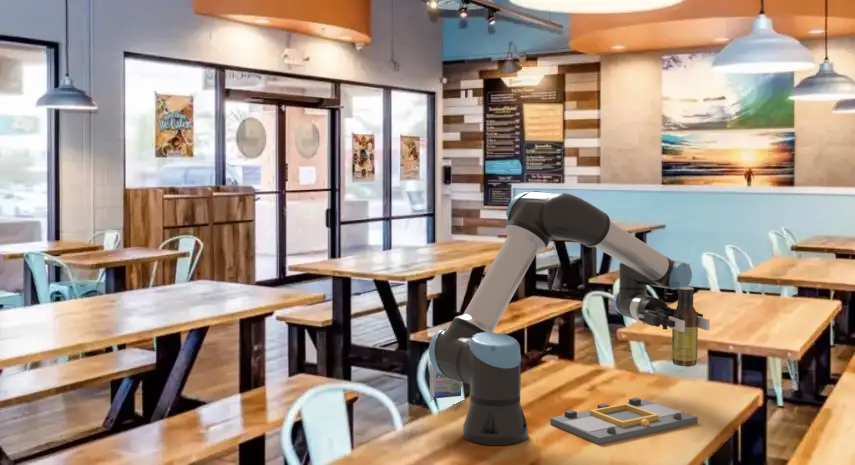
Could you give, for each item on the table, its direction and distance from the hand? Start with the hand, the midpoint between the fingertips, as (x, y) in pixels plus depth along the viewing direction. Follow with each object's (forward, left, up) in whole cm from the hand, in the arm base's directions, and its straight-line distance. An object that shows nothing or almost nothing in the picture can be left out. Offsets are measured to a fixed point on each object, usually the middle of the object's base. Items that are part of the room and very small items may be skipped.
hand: (695, 325), depth 219 cm
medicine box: (-43, +49, -23) cm, 69 cm away
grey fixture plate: (-19, +4, -23) cm, 30 cm away
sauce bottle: (+1, +5, -11) cm, 12 cm away
